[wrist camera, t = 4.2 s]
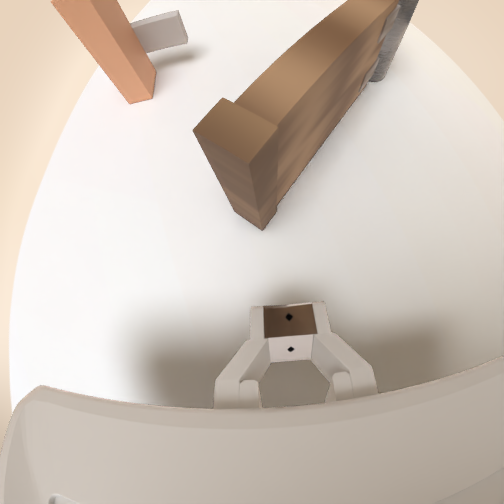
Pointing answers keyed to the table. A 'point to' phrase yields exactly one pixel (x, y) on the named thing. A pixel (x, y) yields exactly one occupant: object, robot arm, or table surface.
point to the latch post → (122, 41)
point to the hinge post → (394, 38)
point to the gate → (293, 107)
